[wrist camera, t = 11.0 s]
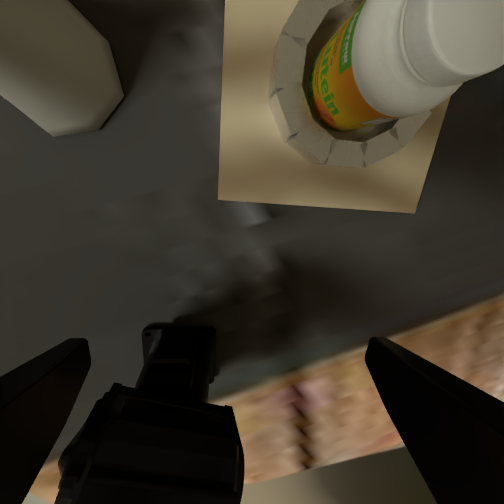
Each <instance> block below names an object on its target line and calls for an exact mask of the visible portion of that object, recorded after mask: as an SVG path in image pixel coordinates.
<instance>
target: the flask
mask: <svg viewBox="0 0 504 504" xmlns="http://www.w3.org/2000/svg"><path fill="white" fill-rule="evenodd" d="M0 95H1V96H2V97H4V98H5V99H6V100H8V101H9V102H10V103H12V104H13V105H14V106H16V107H17V108H18V109H19V110H21V111H22V112H23V113H24V114H26V115H27V116H28V117H29V118H30V119H32V120H33V121H34V122H35V123H37V124H38V125H39V126H40V127H42V128H43V129H44V130H45V131H47V132H48V133H49V134H51V135H52V136H53V137H54V136H61V135H69V134H76V133H83V132H91V131H98V129H99V128H100V127H101V126H102V124H103V123H104V122H105V120H106V119H107V118H108V117H109V115H110V114H111V113H112V111H113V110H114V109H115V108H116V106H117V105H118V104H119V102H120V101H121V100H122V98H123V97H124V94H123V91H122V87H121V84H120V80H119V77H118V73H117V69H116V66H115V62H114V59H113V55H112V52H111V48H110V45H109V42H108V41H107V40H106V39H105V38H104V37H103V36H102V35H101V34H100V33H99V32H98V31H97V29H96V28H95V27H94V26H93V25H92V24H91V23H90V22H89V21H88V20H87V19H86V18H85V17H84V16H83V15H82V14H81V13H80V12H79V11H78V10H77V9H76V8H75V7H74V6H73V5H72V4H71V3H70V2H69V1H68V0H0Z"/></svg>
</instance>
